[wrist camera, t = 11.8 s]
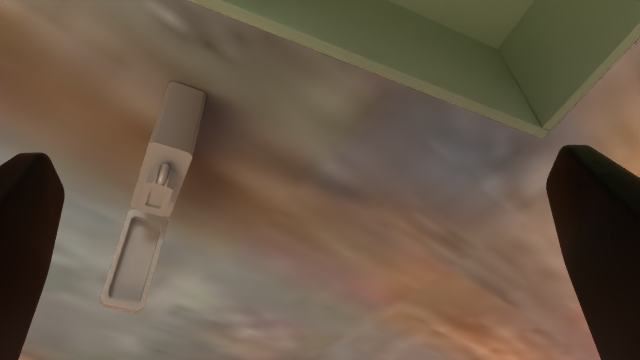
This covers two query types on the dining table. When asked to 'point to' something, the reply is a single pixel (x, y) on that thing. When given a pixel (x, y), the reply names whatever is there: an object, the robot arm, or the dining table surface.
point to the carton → (464, 47)
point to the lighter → (154, 198)
